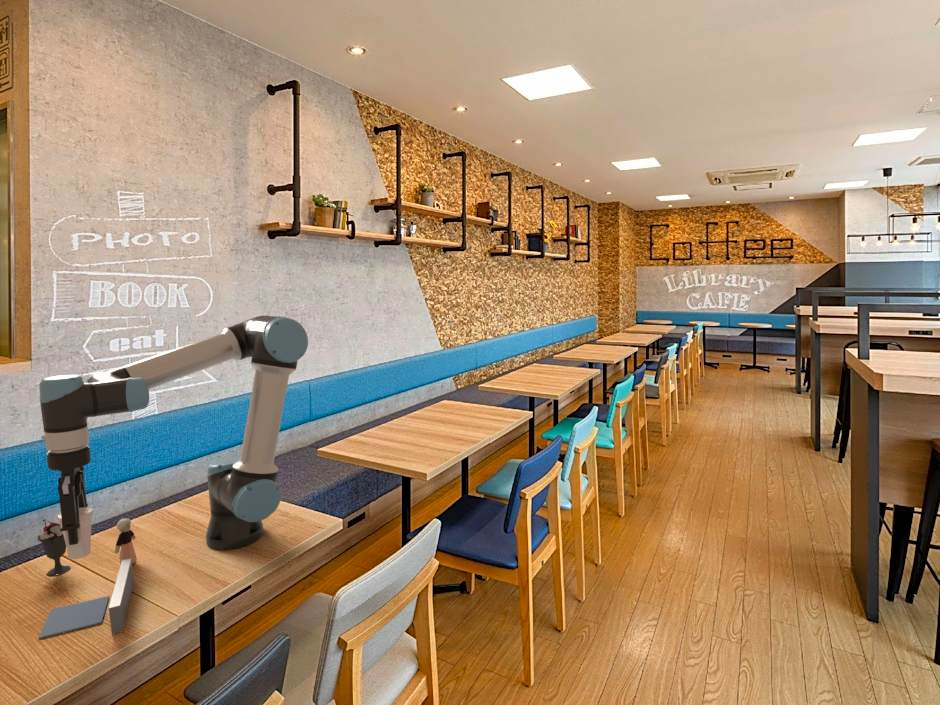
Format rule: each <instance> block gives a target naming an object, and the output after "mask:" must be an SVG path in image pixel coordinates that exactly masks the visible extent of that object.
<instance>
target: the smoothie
mask: <svg viewBox="0 0 940 705" xmlns="http://www.w3.org/2000/svg"><path fill="white" fill-rule="evenodd" d="M94 514H95V513H94V509H93V508H92V507H89V506H88V507H81V508H79V523H80V526H81V528H82V537H83V547H84V556H82V557H77V558H72V559H71V560H78V559H81V558H85V557H87V556H89V555H90V554H91V545H92V544H91V542H92V522H93V519H92V518H93V515H94ZM57 523H59V524H60V525H61V528H62V519H61V513H59V514H58V515H57ZM62 532H63V535H64V539H65V543H66V534H65V531H62ZM66 547H67V543H66Z"/></svg>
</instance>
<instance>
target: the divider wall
mask: <svg viewBox="0 0 940 705" xmlns="http://www.w3.org/2000/svg"><path fill="white" fill-rule="evenodd" d="M119 568H120V569H119ZM119 568H118V569H119V570H118V573H117V576H116V580H115V584H114V587H113V591H112V595H111V597H110V598H111V599H110V602H109V605H108V615H109V623H110V631H111V635H114V634H113V633H116V634H119V633H118V632H120V633H122V632H121V631H123V632H124V630H123V628H125V625H126V624H125V623H126V620H125V619H127V616H126V614H128V611H127V610H129V606H130V602H129V601H131V596H132V592H133V586H134V582H135V578H134V572H133V565H132V560H131V559H126V560H122V561H121V565H120V566H119ZM128 605H129V606H128ZM124 624H125V625H124Z"/></svg>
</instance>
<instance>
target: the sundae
mask: <svg viewBox="0 0 940 705" xmlns="http://www.w3.org/2000/svg"><path fill="white" fill-rule="evenodd" d="M42 522H44V523H45V524H44V527H43V528H42V530H43V531H41V533H40V534H39V535H38V536H37V537H36V538H37V539H36V540H37V541H38V542H40V543H41V544H42V547H43V550H44V553H45V555H46V557H47V558H49V559H51V560H53V561H54V568H51V569H49V570H50V571H49V570H48V571H47V572H48V573H47V572H46V576H48V575H56V574H60V575H62V574H61V573H63V572H65V571H67V570H68V571H69V570H71V566H70V565H68V566H67V565H66V566H64V565H63V564H62V563H61V557H63V556H64V555H65V553H66V550H67V546H66V543H65V539H64V535H63V532H62V531H60V529H61V525H60V523H59V522H51V521H49V520H47V519H46V518H44V519H42ZM47 523H49V525H47ZM68 571H67V572H68ZM65 573H66V572H65ZM63 574H64V573H63ZM56 576H57V575H56Z"/></svg>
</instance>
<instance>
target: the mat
mask: <svg viewBox="0 0 940 705" xmlns="http://www.w3.org/2000/svg"><path fill="white" fill-rule="evenodd" d="M109 599H110V596H109V595H107V596H102V597H99V598H95V599H94V598H93V599H90V600H85V601H81V602H77V603H74V604H73V603H72V604H69V605H68V604H67V605H64V606H60V607H56V608H51V610H50V612H49V613H48V615H47V618H46V621H45V623H44V626H43V627H42V630H41V632H40V634H39V636H38V640H42V639H45V637H46V638H49V636H50V637H53V636H52V635H54V636H57V635H56V634H58V635H61V634H60V633H62V634H64V633H63V632H66V633H69V632H68V631H70V632H72V631H71V630H74V631H78V630H81V629H80V628H82V629H85V627H86V628H89V627H88V626H90V627H93V625H94V626H97V625H96V624H98V625H101V624H100V623H102V624H103V621H104V618H105V614H106V611H105V610H107V606H108V603H109ZM103 617H104V618H103ZM77 629H78V630H77ZM41 638H42V639H41Z"/></svg>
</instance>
